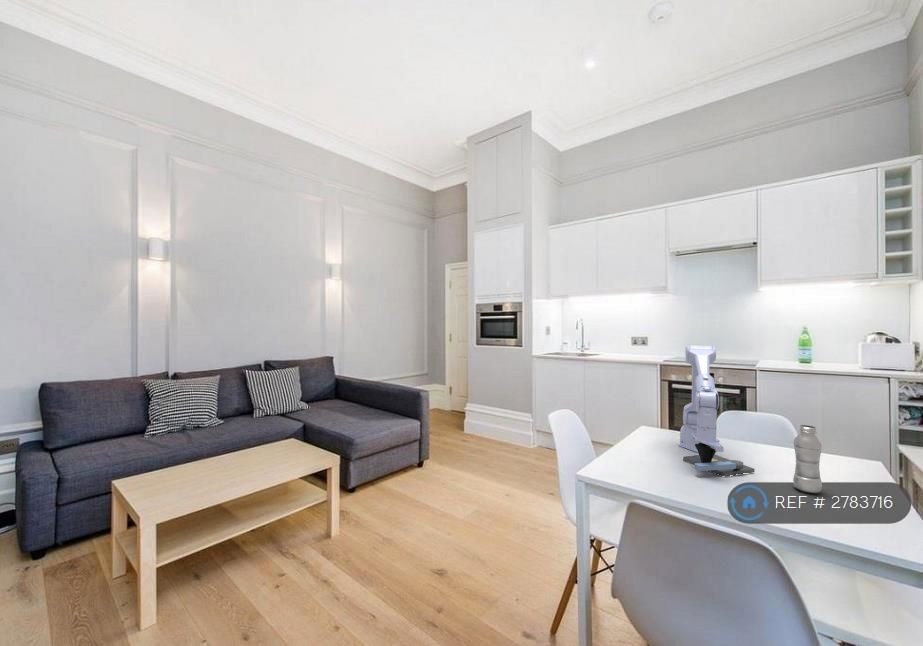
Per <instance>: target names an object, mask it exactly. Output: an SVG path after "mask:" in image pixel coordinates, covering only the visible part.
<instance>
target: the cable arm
mask: <svg viewBox="0 0 923 646" xmlns="http://www.w3.org/2000/svg"><path fill="white" fill-rule="evenodd" d="M729 460H730V461H728V462H711V463H694V465H693V466H694V469H695V470H697V471H700V472H703V471H707V470H723V469H743V465H744V462H743V461H741V460H737V459H729ZM707 472H708V471H707Z"/></svg>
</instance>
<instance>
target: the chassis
mask: <svg viewBox="0 0 923 646" xmlns="http://www.w3.org/2000/svg"><path fill="white" fill-rule="evenodd" d="M730 460H731V459H729V458H726V457H722V456H719V455H718V454H716V453H715V454H714V456H713V458H712V461H711V462H728V461H730ZM682 461H683V462H685V463H688V464H690V465H692V464H693V466H694V463H701V459H700V456H699V454H695V455H694V454H693V455H687V456H683V458H682ZM710 471H711V472H710ZM707 472H710V473H712V472H713V473H712V474H714V473H716V474H715V475H717V474H719V475H721V476H720V477H722V476H730V475H736V474H743V473H751V472H755V467H751V466H748V465H746V464H743V469H723V470H708V471H707ZM719 475H718V476H719Z"/></svg>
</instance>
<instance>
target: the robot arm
mask: <svg viewBox="0 0 923 646" xmlns="http://www.w3.org/2000/svg"><path fill="white" fill-rule="evenodd" d="M684 353H685V355H684V356H685V362H686V364H689V365H690V366H691V369H692V371H691V375H692V376H691V402H689V403H687V404H685V405H684V407H683V411H682V423H683V425H682V426H681V428H680V430H679V431H680V432H679V444H678V446H679V447H681V448H682V447H683V448H685V449H687V450H690V451H693V452H695V453H698V455H699V456H700V459H701V463H711V461H712V458H713V456H714V454H715V455H716V453H723V452H724V445H722V444H720V440H719V439H718V438H717V424H718V423H717V417H718V416H717V410H718V409H719V406H720V397H719V393H718V390H717V389H716V385H715V379H714V377H713V376H712V375H710V366H711V365H713V364H714V362H715V361H716V358H717V348H716V346H715V345H695V344H694V345H690V344H687V345H686V346H685V352H684Z"/></svg>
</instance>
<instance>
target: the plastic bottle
mask: <svg viewBox="0 0 923 646" xmlns="http://www.w3.org/2000/svg"><path fill="white" fill-rule="evenodd" d="M798 431H799V433H798V435H796V436H795V438H794V439H793V449H794V455H795V467H794V474H793V479H792V481H793V485H794V487H795V488H796V489H797V490H799V491H802V492H805V493H809V494H810V493H811V494H819V493H821V491H822V488H823V483H822V478H821V472H820V461H821V460H820V459H821V456H822V455H821V453H822V448H823V446H822V442H821V441H820V440H819V438H818V437H817V435H816V434H817V427H816V426H813V425H806V424H800V425H799V430H798Z"/></svg>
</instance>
